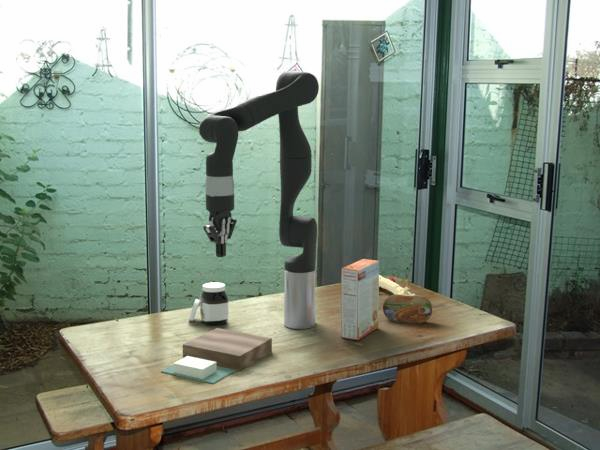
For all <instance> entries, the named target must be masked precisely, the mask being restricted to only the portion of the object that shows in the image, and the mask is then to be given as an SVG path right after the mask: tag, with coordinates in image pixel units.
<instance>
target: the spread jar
mask: <svg viewBox="0 0 600 450" xmlns="http://www.w3.org/2000/svg"><path fill="white" fill-rule="evenodd" d="M229 305H230V303H229V297H228V294H227V291H226V284H225V283H223V282H218V281H217V282H212V281H211V282H207V283H203V284H202V291H201V293H200V295H199V299H197V298H195V300H194V303H193V305H192V308H191V310H190V314H189V318H188V321H190V322H194V319H195V316H196V314H197V311H198V308H199V314H200V320H201V322H202V323H203V324H204V325H207V326H220V325H223V324H225V323H227V322H228V320H229V313H230V312H229Z"/></svg>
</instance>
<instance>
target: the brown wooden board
mask: <svg viewBox="0 0 600 450" xmlns="http://www.w3.org/2000/svg"><path fill="white" fill-rule="evenodd" d="M271 353H273V338H272V337H267V336H261V335H256V334H251V333H246V332H242V331H234V330H229V329H225V328H219V327H216V328H214V329H212V330H209V331H207V332H205V333H203V334H201V335H200V336H198V337H195V338H193V339H191V340H188V341H187V342H185V343H183V344H182V358H184V357H186V356H190V357H195V358H200V359H205V360H209V361H214V362H216V364H217V366H220V367H225V368H230V369H234V370H236V371H238V372H239V371H240V372H241V371H243V370H244V369H246V368H248V367H249V366H251V365H252V364H255V363H256V362H258V361H260V360H261V359H263V358H265V357H266V356H269V355H270V354H271Z"/></svg>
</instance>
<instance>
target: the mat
mask: <svg viewBox="0 0 600 450" xmlns="http://www.w3.org/2000/svg"><path fill="white" fill-rule="evenodd" d="M236 371H237V370H234V369H230V368H225V367H220V366H217V371H216V372H215V373H213V374H211V375H209V376H207V377H206V378H204V379H200V378H196V377H191V376H187V375H182V374H178V373H173V364H172V365H170V366H168V367H165V368H163V369H162V370H160V372H161V373H164V374H169V375H173V376H177V377H180V378H185V379H190V380H194V381H198V382H204V383H208V384H212V385H214V384H215V383H217V382H219V381H221V380H222V379H225V378H226V377H228V376H229V375H231V374H232V373H235V372H236Z"/></svg>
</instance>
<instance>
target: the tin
mask: <svg viewBox="0 0 600 450" xmlns="http://www.w3.org/2000/svg"><path fill="white" fill-rule="evenodd" d="M382 311H383V314H384V316H385V317H386V318H387V319H388V320H389V321H391V322H394V323H395V322H397V323H410V324H411V323H412V324H423V323H425V322H427V321H429V319H430V318H431V317H432V313H433V306H432V303H431V301H430V300H429V299H428V298H427V297H426V296H424V295H420V294H419V295H417V294H415V295H401V294H391V295H389V296H388V297H387V298H386V299H385V300H384V301H383V304H382Z"/></svg>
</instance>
